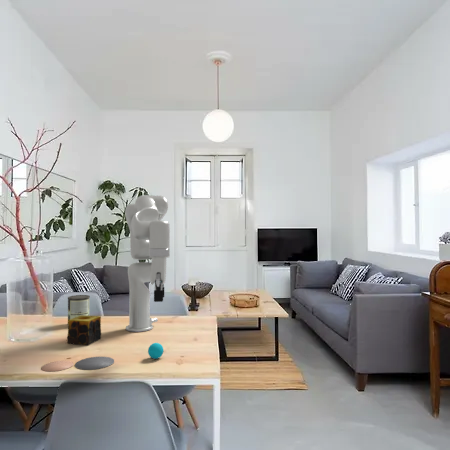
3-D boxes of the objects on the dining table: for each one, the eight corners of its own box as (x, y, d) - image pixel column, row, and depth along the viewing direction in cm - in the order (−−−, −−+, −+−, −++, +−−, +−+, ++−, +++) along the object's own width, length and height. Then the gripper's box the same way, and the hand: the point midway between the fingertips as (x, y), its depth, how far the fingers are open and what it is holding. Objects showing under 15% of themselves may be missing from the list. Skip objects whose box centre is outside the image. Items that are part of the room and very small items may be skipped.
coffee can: (62, 325, 184) (63, 297, 185) (80, 321, 193) (80, 294, 194) (76, 328, 179) (76, 298, 179) (93, 323, 188) (94, 295, 188)
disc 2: (101, 354, 139) (101, 354, 139) (121, 362, 131) (121, 361, 131) (67, 363, 129) (67, 363, 129) (86, 372, 121) (87, 372, 121)
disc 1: (65, 359, 134) (65, 358, 134) (79, 365, 127) (79, 364, 127) (36, 366, 126) (36, 366, 126) (49, 373, 120) (49, 373, 120)
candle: (88, 345, 151) (88, 321, 151) (66, 344, 153) (66, 320, 153) (101, 339, 161) (101, 315, 161) (80, 337, 163) (80, 314, 163)
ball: (156, 354, 139) (157, 340, 139) (166, 358, 135) (166, 342, 135) (144, 358, 135) (145, 343, 135) (154, 361, 131) (154, 346, 131)
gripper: (151, 252, 147) (151, 296, 147) (147, 254, 130) (146, 303, 130) (170, 252, 148) (170, 295, 148) (168, 254, 131) (168, 303, 130)
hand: (159, 299), depth 139 cm, fingers open, 9 cm apart
